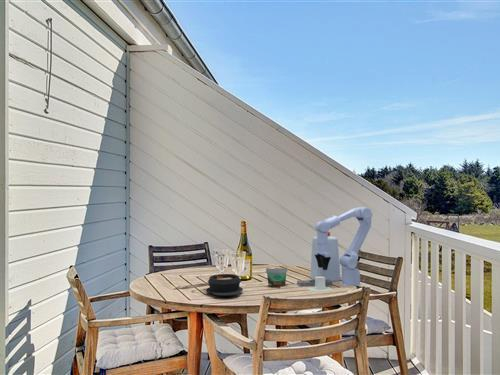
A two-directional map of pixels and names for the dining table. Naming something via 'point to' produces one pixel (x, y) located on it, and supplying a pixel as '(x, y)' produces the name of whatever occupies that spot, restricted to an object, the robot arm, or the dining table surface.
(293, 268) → the dining table surface
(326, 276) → the plastic bottle
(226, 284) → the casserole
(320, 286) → the white rectangular block
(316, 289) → the rubber mat
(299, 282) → the grey slotted plate
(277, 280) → the food container
